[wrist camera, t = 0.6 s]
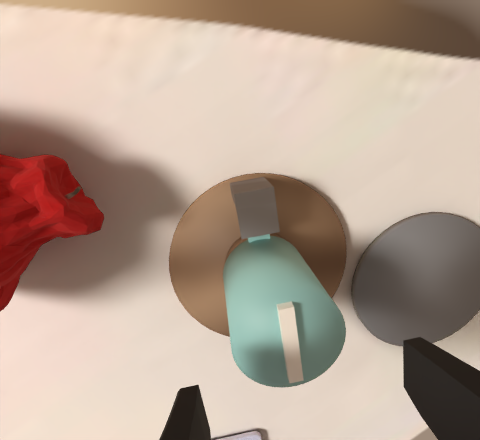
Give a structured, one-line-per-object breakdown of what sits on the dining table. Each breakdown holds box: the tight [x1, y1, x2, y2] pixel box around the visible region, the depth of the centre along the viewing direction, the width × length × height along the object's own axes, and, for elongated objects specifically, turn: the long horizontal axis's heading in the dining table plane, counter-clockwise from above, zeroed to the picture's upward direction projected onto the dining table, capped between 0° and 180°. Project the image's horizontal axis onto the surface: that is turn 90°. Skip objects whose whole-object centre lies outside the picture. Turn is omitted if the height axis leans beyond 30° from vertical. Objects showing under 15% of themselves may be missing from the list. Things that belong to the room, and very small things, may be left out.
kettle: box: [223, 234, 346, 387], centre depth 16 cm, size 6×5×6 cm
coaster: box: [352, 212, 480, 346], centre depth 22 cm, size 10×10×1 cm
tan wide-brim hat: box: [169, 173, 346, 337], centre depth 19 cm, size 11×11×4 cm
